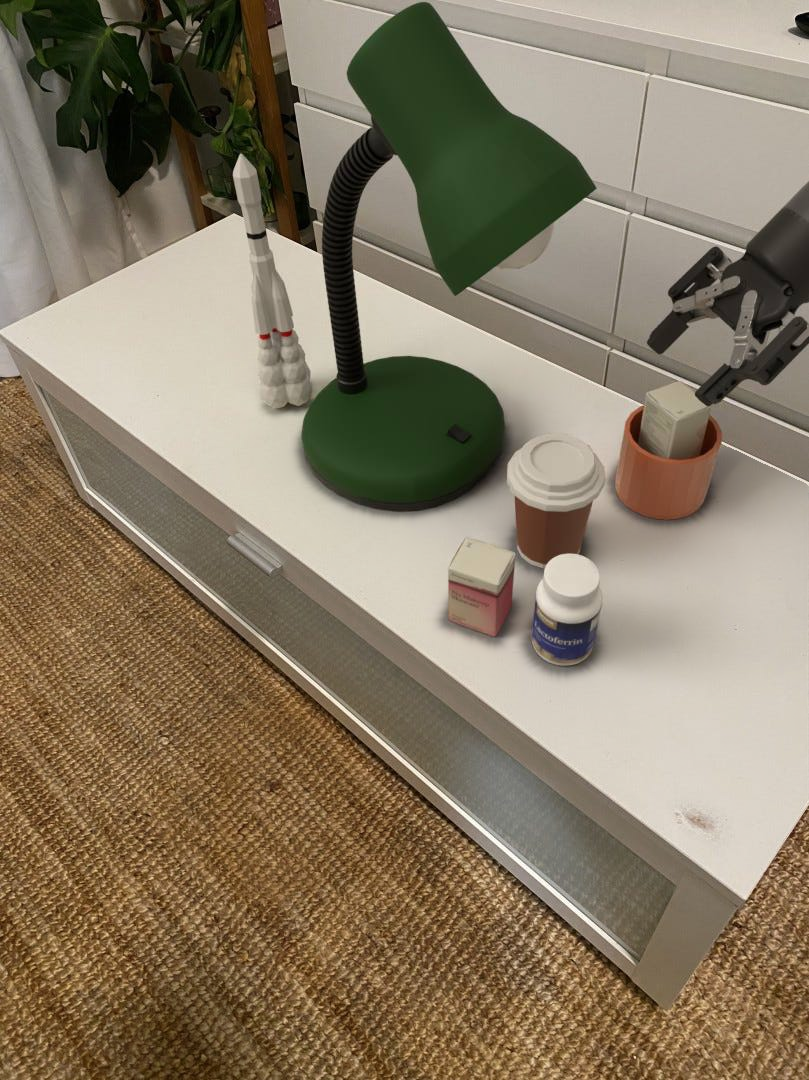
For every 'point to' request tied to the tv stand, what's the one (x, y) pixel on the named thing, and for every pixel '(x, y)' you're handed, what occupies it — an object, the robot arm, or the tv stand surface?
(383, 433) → the desk lamp
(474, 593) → the small box
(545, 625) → the pill bottle
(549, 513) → the coffee cup
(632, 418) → the terracotta plant pot
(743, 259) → the robot arm
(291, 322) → the rocket model
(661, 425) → the box
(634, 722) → the tv stand surface
